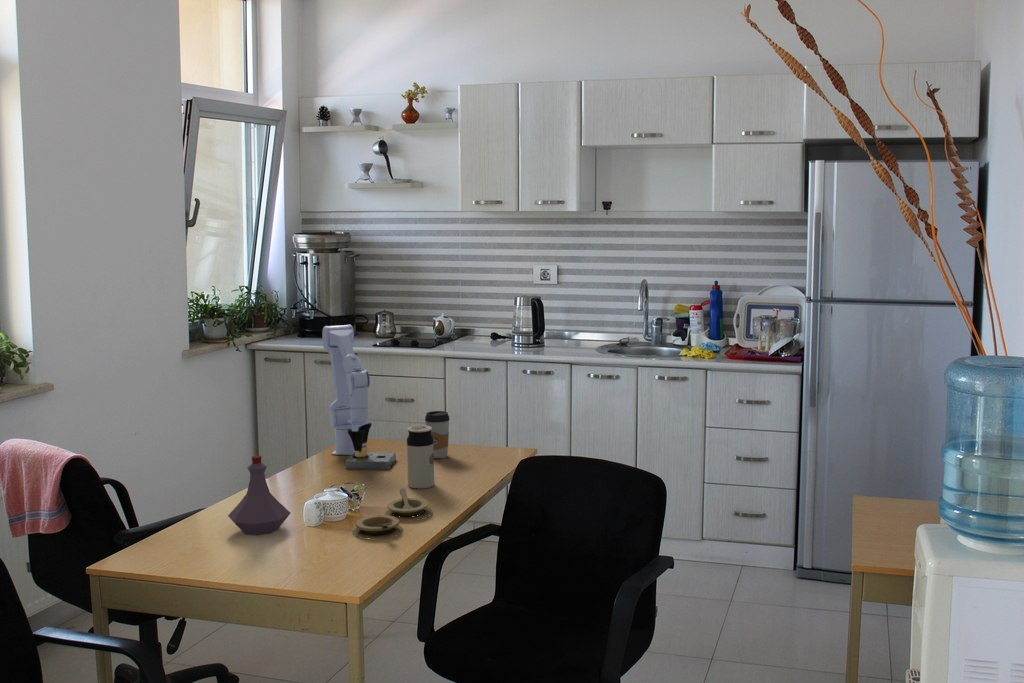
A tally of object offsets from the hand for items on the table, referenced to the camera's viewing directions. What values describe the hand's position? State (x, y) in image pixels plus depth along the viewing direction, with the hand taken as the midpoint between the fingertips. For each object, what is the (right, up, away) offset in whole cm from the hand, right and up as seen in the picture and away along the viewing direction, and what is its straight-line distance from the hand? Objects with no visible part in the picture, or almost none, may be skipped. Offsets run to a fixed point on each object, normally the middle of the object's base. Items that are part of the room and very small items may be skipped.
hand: (360, 447), depth 339 cm
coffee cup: (+25, -4, +9) cm, 27 cm away
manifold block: (+3, -5, 0) cm, 6 cm away
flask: (-17, -15, -65) cm, 69 cm away
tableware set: (+18, -15, -60) cm, 64 cm away
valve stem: (0, -5, +1) cm, 6 cm away
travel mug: (+22, -9, -26) cm, 35 cm away
